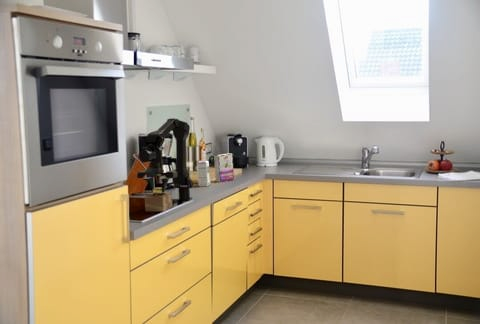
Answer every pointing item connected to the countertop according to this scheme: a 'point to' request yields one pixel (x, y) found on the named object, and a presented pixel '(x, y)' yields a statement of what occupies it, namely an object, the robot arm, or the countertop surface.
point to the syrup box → (203, 173)
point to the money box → (158, 202)
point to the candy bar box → (224, 167)
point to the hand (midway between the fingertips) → (158, 192)
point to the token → (157, 191)
